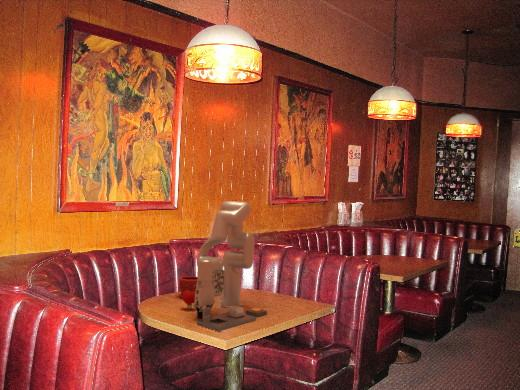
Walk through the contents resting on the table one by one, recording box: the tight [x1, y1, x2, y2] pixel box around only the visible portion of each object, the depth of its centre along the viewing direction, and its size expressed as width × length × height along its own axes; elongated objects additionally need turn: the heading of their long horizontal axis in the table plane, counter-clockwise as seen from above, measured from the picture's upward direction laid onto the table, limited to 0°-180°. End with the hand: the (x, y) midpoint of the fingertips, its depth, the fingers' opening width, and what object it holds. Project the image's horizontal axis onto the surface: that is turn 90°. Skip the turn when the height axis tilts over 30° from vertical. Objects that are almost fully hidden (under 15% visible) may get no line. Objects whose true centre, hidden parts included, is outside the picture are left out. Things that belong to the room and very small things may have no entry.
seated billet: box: [228, 306, 244, 319], centre depth 261 cm, size 5×5×6 cm
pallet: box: [196, 311, 257, 333], centre depth 256 cm, size 16×26×2 cm, turn 139°
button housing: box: [245, 308, 268, 318], centre depth 272 cm, size 8×8×3 cm
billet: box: [199, 306, 212, 319], centre depth 263 cm, size 5×5×6 cm
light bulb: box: [181, 291, 195, 310], centre depth 281 cm, size 9×7×10 cm
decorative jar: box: [212, 268, 224, 297], centre depth 319 cm, size 12×12×18 cm
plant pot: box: [179, 275, 198, 298], centre depth 308 cm, size 13×13×12 cm
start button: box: [250, 307, 263, 312], centre depth 272 cm, size 4×4×2 cm
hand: (203, 317), depth 263 cm, fingers closed on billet, 5 cm apart
